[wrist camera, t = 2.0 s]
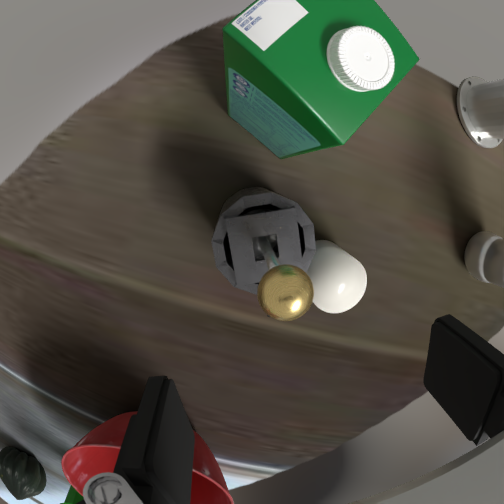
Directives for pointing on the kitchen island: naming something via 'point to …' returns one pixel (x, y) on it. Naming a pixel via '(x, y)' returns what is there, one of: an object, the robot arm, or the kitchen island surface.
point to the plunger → (281, 282)
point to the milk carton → (310, 70)
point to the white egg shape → (336, 278)
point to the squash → (21, 473)
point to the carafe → (260, 224)
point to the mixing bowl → (106, 453)
